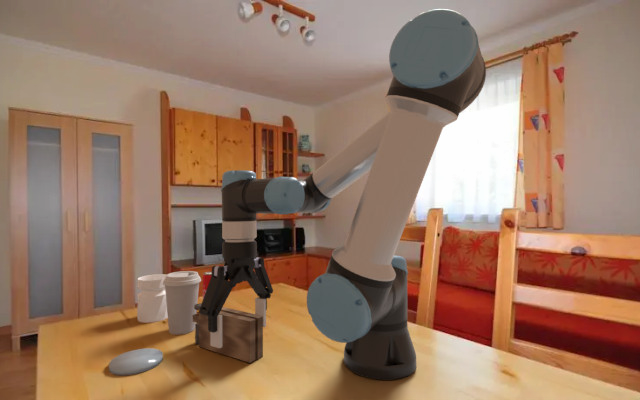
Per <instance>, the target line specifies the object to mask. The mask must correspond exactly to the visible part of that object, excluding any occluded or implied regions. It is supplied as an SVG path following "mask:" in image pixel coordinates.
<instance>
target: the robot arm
mask: <svg viewBox="0 0 640 400" xmlns="http://www.w3.org/2000/svg"><path fill="white" fill-rule="evenodd" d="M388 57H389V58H388V59H389V60H388V62H389V66H390V71H391V73H392V79H391V82H390V84H389V87H388V88H389V89H388V91H387V93H386V97H385V101H386V103H387V104H388V107H389V109H390V110H389V112H387V113H386V114H384V115H383V116H382V117H381V118H380V119H378V120H377V121H376V122H375V123H373V124H372V125H371V126H369V127H368V128H367V129H366V130H365V131H364V132H362V133H361V134H359V135H358V136H357V137H356V138H355V139H353V140H352V141H351V142H349V143H348V144H347V145H346V146H345V147H343V148H342V149H341V150H340V151H338V152H337V153H336V154H335V155H333V156H332V157H331V158H329V159H328V160H327V161H325V163H323V164H322V165H321V166H320V167H318V168H317V169H316V170H315V171H313V172H312V173H311V174H310V175H308V176H307V177H306V178H304V179H302V180H300V179H297V177H294V176H277V177H268V178H267V177H266V178H257V174H256V172H254V171H252V170H243V169H242V170H240V169H239V170H227V171H225V172H224V173H223V174H222V175H221V176H222V180H221V188H220V191H221V217H222V218H221V221H222V223H221V225H222V226H221V228H222V229H221V230H222V231H221V232H222V233H221V235H222V236H221V238H222V239H223V242H222V243H221V246H222V247H221V251H222V252H221V256H222V258H223V261H224V264H223V265H216V264H215V265H212V267H211V272H212V274H211V279H210V282H209V285H208V287H207V290H206V293H205V296H204V299H203V298H202V302H201V303H202V304H201V307H200V310H198V314H199V313H200V314H202V315H207V316H208V330H209V332H210V346H213V347H216V348H222V315H219V313H220V311H221V309H222V307H224V305H225V303H226V301H227V299H228V297H229V295H230V294H231V292H232V290H233V288H234V287H236V285H237V284H241V283H243V282H247V283H248V285H249V286H250V287H251V289H252V291H254V293H255V295H257V297H255V299H254V300H255V301H254V303H255V305H254V306H255V307H254V309H255V311H254V314H256V315H261V316H263V328H265V327H267V309H268V299H271V296H272V294H273V292H274V289H273V286H272V284H271V283H272V282H271V280H270V278H269V275H268V272H267V270H266V266H265V260H264V258H263V257H259V256H257V255H258V250H257V248H258V245H257V244H258V243H257V241H256V240H255V239H256V238H257V236H258V234H257V232H258V231H257V229H258V227H257V214H268V215H269V214H270V215H275V214H276V215H281V216H282V215H290V214H296V213H311V214H312V213H314V214H315V213H318V212H321V211H324V210H326V209H327V208H328V207H329V206H330V204H331V201H332V199H333V198H334V197H336V196H337V195H339V194H340V193H341V192H342V191H344V190H345V189H347V188H348V187H349V186H352V184H354V183H355V182H356V181H358V180H359V179H361V178H363V177H364V176H365V175H366V174H367V173H368V176H367V178H366V182H365V185H364V187H363V190H362V193H361V197H360V199H359V202H358V205H357V207H356V210H355V213H354V215H353V218H352V222H351V224H350V227H349V229H348V230H349V231H348V233H347V236H346V239H345V241H344V244H342V245H341V246H339V247H337V248H334V249H333V250H332V253H331V255H330V258H329V261H328V264H327V266H326V270H325V273H323V274H321V275H319V276H317V277H316V278H315V279H314V281H312V282H311V284H310V285H309V288H308V290H307V293H306V307H307V312H308V314H309V315H310V317H311V319H312V320H311V321H312V323H313V325H314V326H315V327H316V328H317V330H318V331H319V332H320V333H321V334H322V335H323V336H324V337H326V338H328V339H329V340H331V341H334V342H336V343H341V344H343V343H345V345H344V349H343V363H344V365H345V367H346V368H347V369H348V370H350V371H351V372H353V373H355V374H357V375H359V376H361V377H364V378H368V379H372V380H380V381H392V380H393V381H394V380H399V379H403V378H406V377H408V376H410V375H412V374H413V373H414V372H416V369H417V353H416V350H415V346H414V343H413V341H412V337H411V335H410V331H409V329H408V275H409V271H408V264H407V263H408V262H407V259H406V258H405V257H403V256H402V255H401V256H400V255H396V251H397V248H398V246H399V243H400V240H401V237H402V235H403V232H404V231H405V227H406V225H407V223H408V219H409V216H410V214H411V212H412V209H413V207H414V204H415V201H416V198H417V197H418V193H419V191H420V188H421V186H422V184H423V181H424V178H425V175H426V173H427V170H428V168H429V166H430V162H431V160H432V158H433V155H434V152H435V149H436V147H437V144H438V141H439V139H440V137H441V134H442V131H443V129H444V128H445V127H446V126H447V125H450V124H451V123H454V122H456V121H457V120H458V117H459V116H460V114H461V113H462V112H463V111H464V110H466V109H467V108H469V106H470V105H472V104H473V102H474V101H475V100H476V99H477V98H478V97H479V95H480V94H481V92H482V90H483V87H484V85H485V82H486V77H487V68H486V62H485V60H484V57H483V54H482V52H481V48H480V45H479V36H478V34H477V31H476V30H475V28H474V27H473V26H472V25H471V23H470V21H469V20H468V19H467V18H466V17H465V16H464V15H463V14H461V13H459V12H458V11H455V10H452V9H447V8H446V9H445V8H437V9H430V10H428V11H424V12H421V13H420V14H418V15H417V16H415V17H414V18H412V19H410V20H409V21H407V22H406V23H405V24H404V25H403V26H402V27H401V29H399V30H398V32H397V34H396V35H395V37H394V38H393V40H392V42H391V45H390V49H389V55H388ZM206 308H207V309H206ZM214 309H215V310H214Z"/></svg>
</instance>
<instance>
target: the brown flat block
mask: <svg viewBox="0 0 640 400" xmlns="http://www.w3.org/2000/svg"><path fill="white" fill-rule="evenodd" d="M201 304H202V302H201V303H199V302H198V303H197V304H196V305H194V309H195V310H197V311H199V309H200V307H201ZM214 310H215V309H214ZM221 311H222V312H226V313H230V314H235V315H239V316H243V317H248V318H252V319H255V360H260V359H262V358H264V329H263V328H264V327H263V316H261V315H256V314H255V313H251V312H247V311H241V310H239V309H233V308H229V307H225V306H223V307H222V309H221ZM194 336H195V339H194V343H195V345H198V346H199V323H196V324H195V330H194Z"/></svg>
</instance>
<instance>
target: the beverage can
mask: <svg viewBox="0 0 640 400" xmlns="http://www.w3.org/2000/svg"><path fill="white" fill-rule="evenodd" d="M211 274H212V271H206V272H203V275H202V300H203V299H204V296H205V293H206V290H207V287H208V285H209V282H210V279H211Z"/></svg>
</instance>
